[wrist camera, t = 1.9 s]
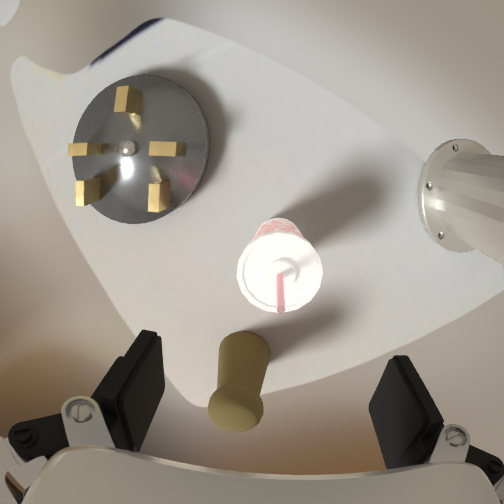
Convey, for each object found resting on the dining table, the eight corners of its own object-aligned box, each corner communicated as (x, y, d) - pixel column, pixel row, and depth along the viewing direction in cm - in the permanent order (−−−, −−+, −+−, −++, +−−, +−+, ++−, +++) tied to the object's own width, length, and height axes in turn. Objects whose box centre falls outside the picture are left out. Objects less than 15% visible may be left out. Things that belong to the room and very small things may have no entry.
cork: (264, 327, 33) (259, 397, 22) (274, 367, 34) (273, 437, 24) (212, 335, 33) (190, 402, 23) (227, 373, 35) (212, 441, 25)
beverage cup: (275, 196, 28) (277, 232, 15) (321, 238, 29) (357, 304, 16) (234, 242, 30) (204, 312, 17) (280, 280, 31) (283, 369, 17)
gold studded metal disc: (87, 85, 25) (63, 78, 21) (217, 77, 25) (207, 63, 20) (79, 214, 30) (55, 224, 25) (203, 227, 29) (190, 239, 25)
